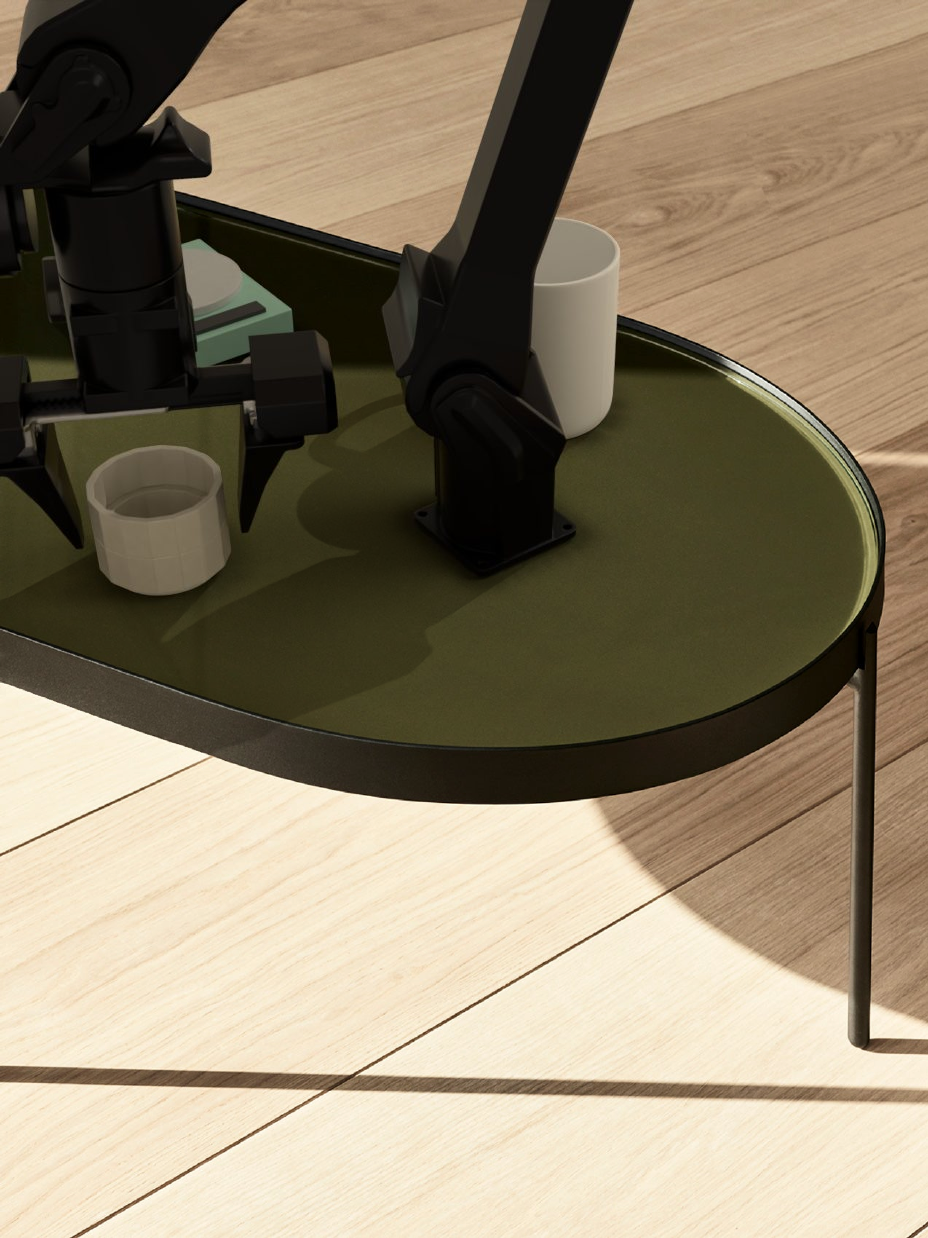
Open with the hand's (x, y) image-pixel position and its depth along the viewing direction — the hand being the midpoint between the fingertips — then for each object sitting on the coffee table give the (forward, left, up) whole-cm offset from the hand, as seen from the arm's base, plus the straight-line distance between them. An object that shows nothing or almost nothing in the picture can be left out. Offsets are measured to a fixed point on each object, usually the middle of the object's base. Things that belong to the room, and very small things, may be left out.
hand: (162, 536), depth 87 cm
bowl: (0, 0, -2) cm, 2 cm away
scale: (+22, -13, -2) cm, 26 cm away
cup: (+2, -25, -2) cm, 25 cm away
